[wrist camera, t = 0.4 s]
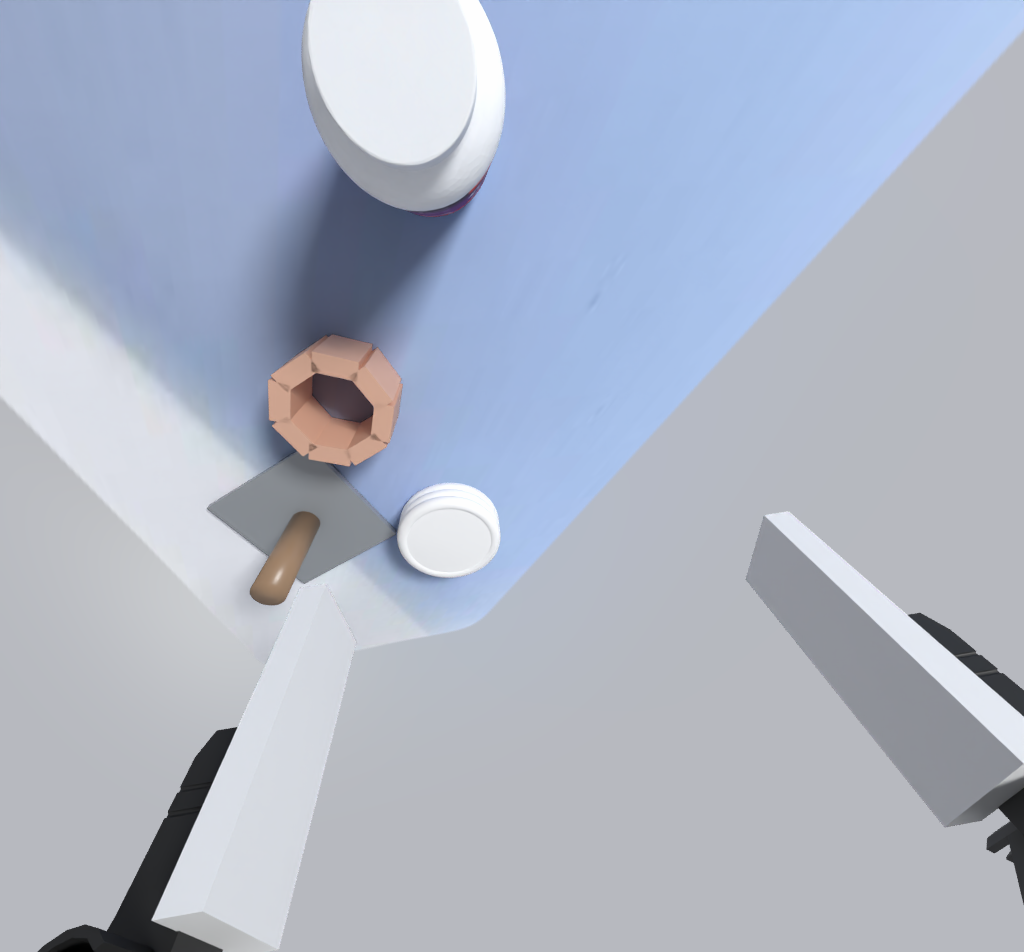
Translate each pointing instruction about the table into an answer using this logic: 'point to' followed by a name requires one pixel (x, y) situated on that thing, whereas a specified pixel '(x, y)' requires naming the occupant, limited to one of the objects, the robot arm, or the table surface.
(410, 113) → the pill bottle
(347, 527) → the post block
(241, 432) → the table surface
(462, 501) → the coaster
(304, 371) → the ring
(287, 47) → the table surface
